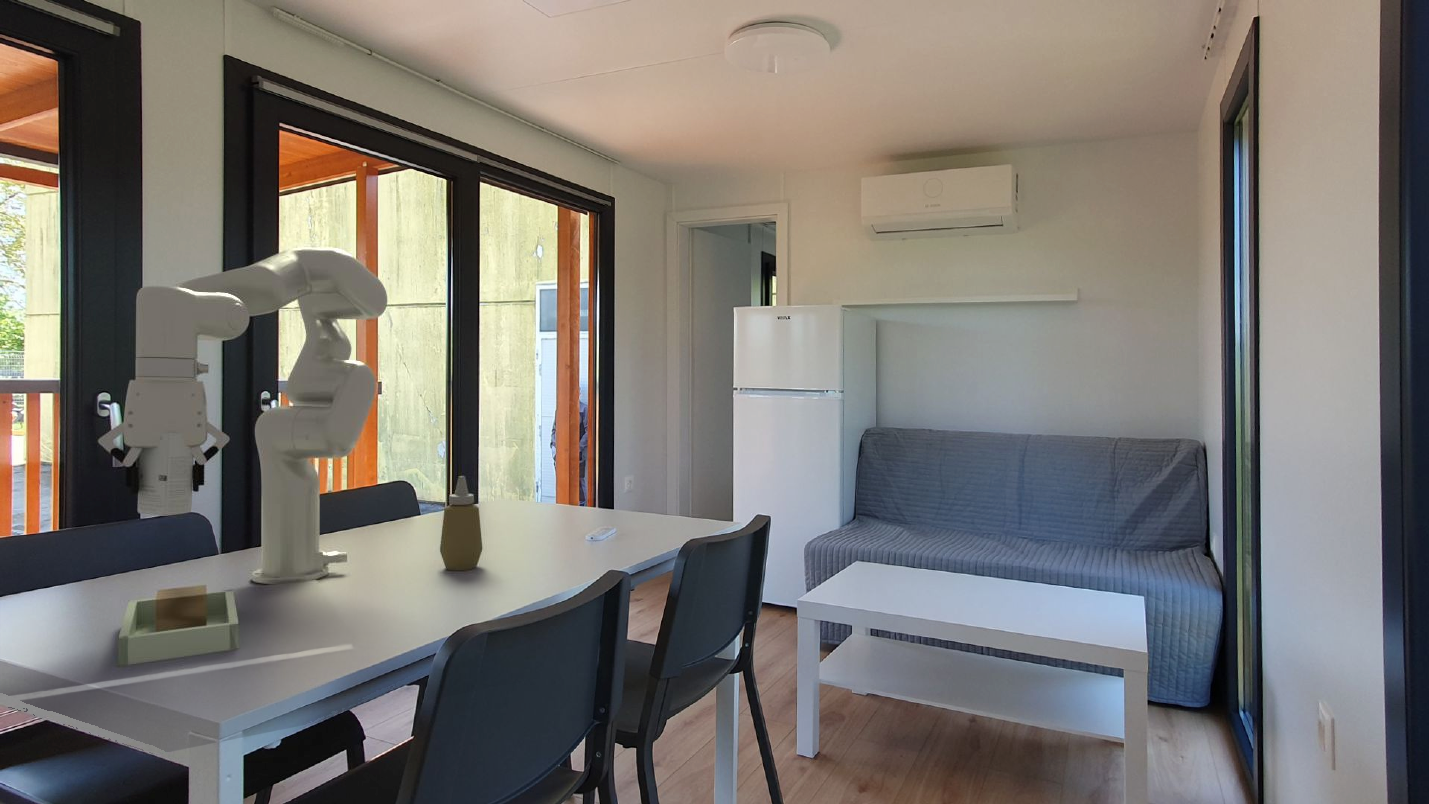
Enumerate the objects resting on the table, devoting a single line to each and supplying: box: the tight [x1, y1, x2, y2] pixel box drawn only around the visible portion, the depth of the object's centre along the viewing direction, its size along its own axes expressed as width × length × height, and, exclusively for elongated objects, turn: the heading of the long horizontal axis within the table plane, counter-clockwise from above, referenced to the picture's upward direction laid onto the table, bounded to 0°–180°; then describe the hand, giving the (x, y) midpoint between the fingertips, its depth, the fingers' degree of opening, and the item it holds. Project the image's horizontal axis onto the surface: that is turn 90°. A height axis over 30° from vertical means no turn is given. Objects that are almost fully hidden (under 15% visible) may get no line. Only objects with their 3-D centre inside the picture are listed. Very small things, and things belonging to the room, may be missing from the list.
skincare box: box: [137, 432, 195, 516], centre depth 118 cm, size 6×4×12 cm
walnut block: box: [155, 584, 207, 632], centre depth 117 cm, size 6×6×5 cm
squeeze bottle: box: [439, 475, 483, 571], centre depth 157 cm, size 8×8×18 cm
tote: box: [117, 589, 240, 667], centre depth 112 cm, size 13×20×4 cm, turn 33°
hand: (165, 491), depth 118 cm, fingers closed on skincare box, 6 cm apart
